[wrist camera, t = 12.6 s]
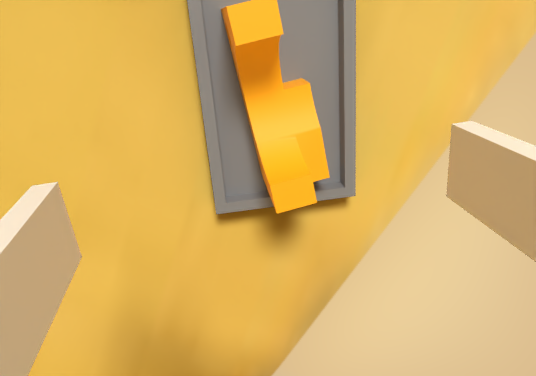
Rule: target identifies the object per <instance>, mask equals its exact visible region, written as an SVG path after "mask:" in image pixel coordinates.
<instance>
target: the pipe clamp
mask: <svg viewBox="0 0 536 376" xmlns="http://www.w3.org/2000/svg"><path fill="white" fill-rule="evenodd" d="M221 12H222V16H223V20H224V24H225V28H226V32H227V36H228V40H229V44H230V48H231V52H232V56H233V60H234V64H235V68H236V72H237V76H238V80H239V84H240V88H241V92H242V96H243V100H244V104H245V108H246V112H247V117H248V121H249V125H250V129H251V133H252V137H253V141H254V145H255V149H256V153H257V157H258V161H259V165H260V169H261V173H262V177H263V180H264V182H265V185H266V187H267V190H268V192H269V195H270V198H271V200H272V203H273V205H274V208H275V210H276V213H277V214H278V213H281V212H285V211H289V210H292V209H296V208H300V207H303V206H307V205H311V204H314V203H317V200H316V194H315V189H314V184H313V182H315V181H318V180H322V179H326V178H329V177H330V176H329V170H328V165H327V159H326V154H325V148H324V143H323V137H322V132H321V127H320V124H319V121H318V117H317V114H316V110H315V106H314V101H313V97H312V91H311V86H310V83H309V82H308V81H306V80H304V79H303V78H300V79H296V80H292V81H288V82H285V83H283V82H282V76H281V68H280V59H279V41H280V37H281V35H282V34H284V33H283V28H282V23H281V18H280V13H279V8H278V3H277V0H251V1H247V2H243V3H239V4H234V5H230V6H226V7H224V8H222V9H221Z"/></svg>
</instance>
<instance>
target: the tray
mask: <svg viewBox="0 0 536 376" xmlns="http://www.w3.org/2000/svg"><path fill="white" fill-rule="evenodd" d="M247 1H251V0H187V2H188V10H189V17H190V24H191V32H192V39H193V47H194V54H195V61H196V69H197V76H198V83H199V91H200V98H201V105H202V113H203V120H204V127H205V135H206V142H207V149H208V157H209V164H210V171H211V179H212V186H213V193H214V201H215V208H216V214H222V213H230V212H237V211H245V210H252V209H260V208H268V207H274V205H273V203H272V200H271V198H270V195H269V192H268V190H267V187H266V185H265V182H264V180H263V177H262V173H261V169H260V165H259V161H258V157H257V153H256V149H255V145H254V141H253V137H252V133H251V129H250V125H249V121H248V117H247V112H246V108H245V104H244V100H243V96H242V92H241V88H240V84H239V80H238V76H237V72H236V68H235V64H234V60H233V56H232V52H231V48H230V44H229V40H228V36H227V32H226V28H225V24H224V20H223V16H222V12H221V9H222V8H224V7H226V6H230V5H234V4H239V3H243V2H247ZM277 3H278V8H279V13H280V18H281V23H282V28H283V33H284V34H282V35H281V37H280V41H279V59H280V68H281V76H282V82H283V83H285V82H288V81H292V80H296V79H300V78H303V79H304V80H306V81H308V82H309V83H310V86H311V91H312V97H313V101H314V106H315V110H316V114H317V117H318V121H319V124H320V127H321V132H322V137H323V143H324V148H325V154H326V159H327V165H328V170H329V176H330V177H329V178H326V179H322V180H318V181H315V182H313V184H314V189H315V194H316V200H317V201H321V200H328V199H336V198H343V197H351V196H355V127H356V0H277Z"/></svg>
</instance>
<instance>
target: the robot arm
mask: <svg viewBox="0 0 536 376" xmlns="http://www.w3.org/2000/svg"><path fill="white" fill-rule="evenodd" d="M446 196H447V197H448V198H449V199H451V200H452V201H453V202H455V203H456V204H458V205H459V206H460V207H462V208H463V209H464V210H466V211H467V212H468V213H470V214H471V215H473V216H474V217H475V218H477V219H478V220H480V221H481V222H482V223H483V224H485V225H486V226H488V227H489V228H490V229H492V230H493V231H494V232H496V233H497V234H498V235H500V236H501V237H502V238H504V239H505V240H507V241H508V242H509V243H511V244H512V245H513V246H515V247H516V248H517V249H519V250H520V251H522V252H523V253H525V254H526V255H527V256H529V257H530V258H531V259H533V260H534V261H535V262H536V146H535V145H532V144H529V143H527V142H524V141H522V140H519V139H517V138H514V137H512V136H509V135H507V134H504V133H501V132H499V131H496V130H494V129H491V128H489V127H486V126H484V125H481V124H479V123H476V122H474V121H469V122H462V123H456V124H452V127H451V141H450V155H449V168H448V182H447V195H446ZM81 258H82V256H81V253H80V250H79V247H78V244H77V241H76V238H75V234H74V231H73V228H72V225H71V222H70V219H69V216H68V213H67V210H66V206H65V203H64V200H63V197H62V194H61V191H60V188H59V185H58V182H55V183H48V184H41V185H34V186H31V187H30V189H29V190H28V191H27V192H26V193H25V194H24V195H23V196H22V197H21V198H20V199H19V200H18V201H17V203H16V204H15V205H14V206H13V207H12V208H11V209H10V210H9V211H8V212H7V213H6V214H5V215H4V217H3V218H2V219H1V220H0V376H28V374H29V372H30V370H31V367H32V365H33V363H34V361H35V359H36V356H37V354H38V352H39V350H40V348H41V345H42V343H43V341H44V339H45V337H46V334H47V332H48V330H49V328H50V326H51V323H52V321H53V319H54V317H55V315H56V313H57V310H58V308H59V306H60V304H61V302H62V299H63V297H64V295H65V293H66V291H67V288H68V286H69V284H70V282H71V280H72V277H73V275H74V273H75V271H76V269H77V267H78V264H79V262H80V260H81Z"/></svg>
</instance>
